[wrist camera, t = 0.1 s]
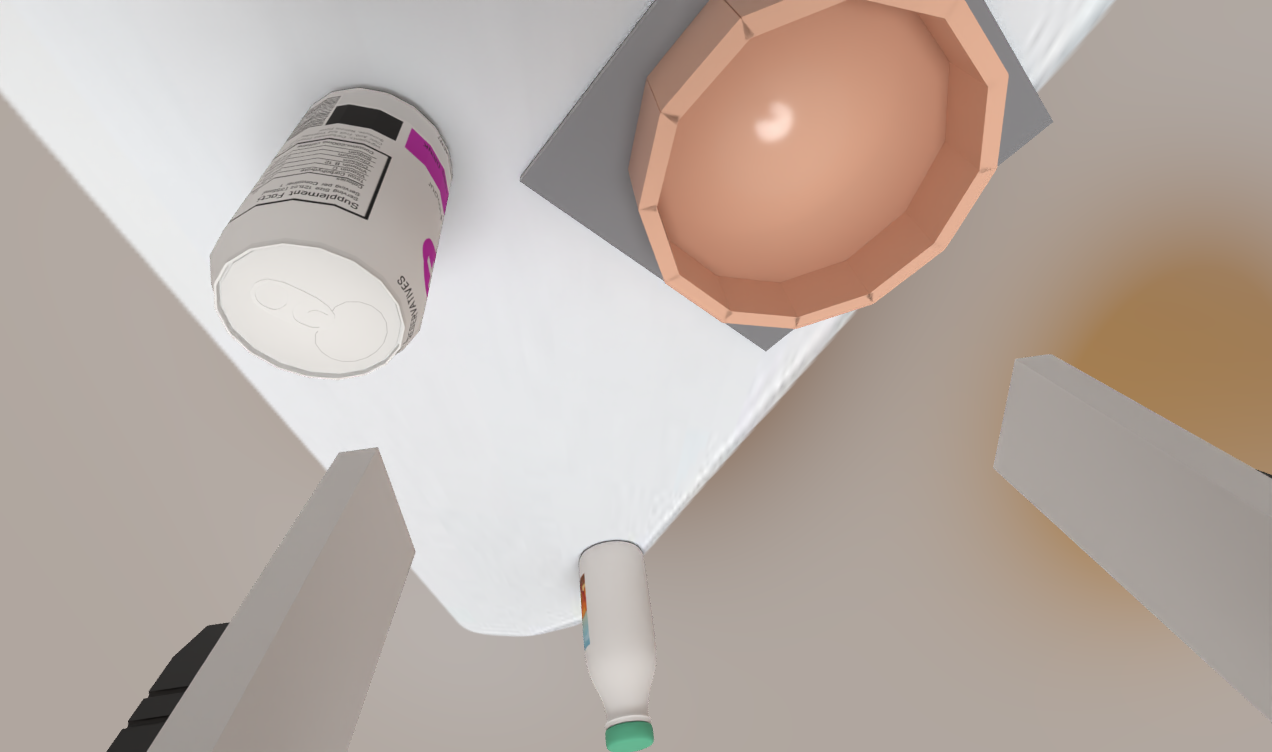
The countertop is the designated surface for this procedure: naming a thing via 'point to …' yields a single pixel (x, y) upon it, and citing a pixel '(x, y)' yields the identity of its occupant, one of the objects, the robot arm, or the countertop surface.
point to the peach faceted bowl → (790, 148)
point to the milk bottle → (619, 640)
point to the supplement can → (337, 239)
